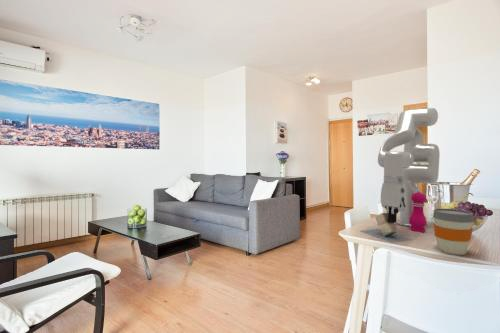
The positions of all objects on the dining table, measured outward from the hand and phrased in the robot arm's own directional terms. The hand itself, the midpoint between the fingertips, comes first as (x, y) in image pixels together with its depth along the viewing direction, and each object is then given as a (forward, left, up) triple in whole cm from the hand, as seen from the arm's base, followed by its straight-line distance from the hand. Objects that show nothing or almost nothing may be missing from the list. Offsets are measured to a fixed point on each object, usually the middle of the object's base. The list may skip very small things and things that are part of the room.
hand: (392, 222), depth 123 cm
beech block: (0, 0, -5) cm, 5 cm away
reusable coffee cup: (-8, +20, -7) cm, 23 cm away
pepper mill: (-22, -5, -7) cm, 24 cm away
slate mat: (0, -4, -7) cm, 8 cm away
